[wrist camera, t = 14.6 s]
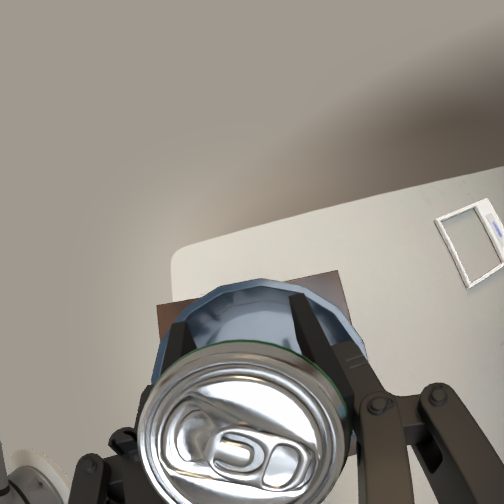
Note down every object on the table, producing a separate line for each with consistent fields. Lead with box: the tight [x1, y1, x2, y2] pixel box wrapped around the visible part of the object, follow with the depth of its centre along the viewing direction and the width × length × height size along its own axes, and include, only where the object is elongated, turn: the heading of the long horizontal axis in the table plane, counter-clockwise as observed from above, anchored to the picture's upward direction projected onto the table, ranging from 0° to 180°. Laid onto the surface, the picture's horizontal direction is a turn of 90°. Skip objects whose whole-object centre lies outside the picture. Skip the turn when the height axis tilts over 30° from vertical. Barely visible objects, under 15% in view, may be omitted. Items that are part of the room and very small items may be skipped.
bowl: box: [151, 278, 368, 443], centre depth 21 cm, size 15×15×5 cm
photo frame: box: [434, 198, 504, 289], centre depth 45 cm, size 15×1×18 cm
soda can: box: [137, 339, 351, 504], centre depth 10 cm, size 5×5×12 cm
